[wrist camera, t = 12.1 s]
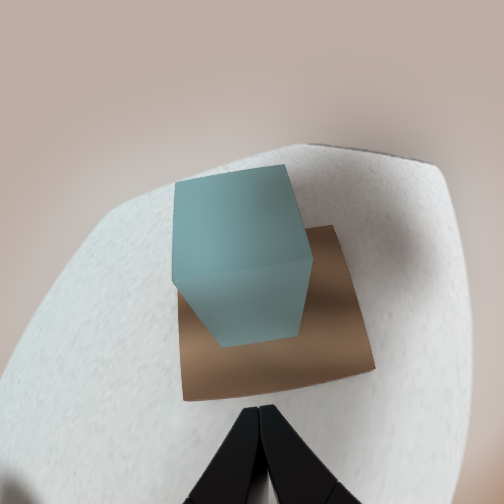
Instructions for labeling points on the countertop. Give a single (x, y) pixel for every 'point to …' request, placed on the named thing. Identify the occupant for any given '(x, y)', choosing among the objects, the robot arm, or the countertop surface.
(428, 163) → the countertop surface
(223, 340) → the teal rectangular prism
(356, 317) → the post board
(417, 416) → the countertop surface
